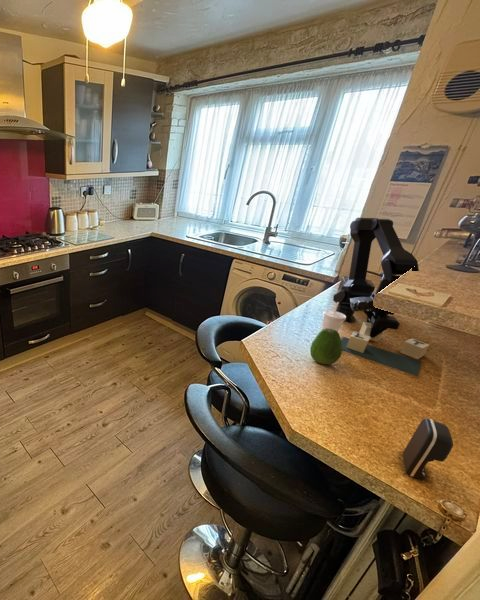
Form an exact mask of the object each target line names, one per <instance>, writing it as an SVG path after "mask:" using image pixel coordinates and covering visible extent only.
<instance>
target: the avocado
mask: <svg viewBox="0 0 480 600" xmlns="http://www.w3.org/2000/svg"><path fill="white" fill-rule="evenodd" d="M340 335H341V334H340V333H339V331H338V332H337V331H335V330H333V329H331V328H326V329H323V330H322V331H321V330H320V331H319V332H318V334H317V335H316V336H315V338H313V340H312V342H311V345H310V356H311V359H312V360H314V361H315V362H316V363H318V364H320V365H333V364H335V363H336V362H338V360H340V358H341V357H342V353H343V351H342V344H341V340H342V338H341V336H340Z"/></svg>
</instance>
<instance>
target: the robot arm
mask: <svg viewBox="0 0 480 600" xmlns="http://www.w3.org/2000/svg"><path fill="white" fill-rule="evenodd" d="M349 229H350V230H349V232H350V234H349V235H350V238H351V239H352V240H353V242H354V243H353V249H352V256H351V261H350V262H351V263H350V269H349V275H348V277H349V280H348V281H347V282H346V283H345V284H344V285H343V286H342V289H341V291H340V292H339V293H337V292H336V293H337V294H336V293H335V294H334V295H333V299H332V301H333V302H334V303H335V304H337V302H339V305H338V307H337V310H336V311H337V312H340V313H342V314H344V315H345V316H346V320H345V321H344V322H347V323H352V322H353V320H354V319H355V316H354V315H355V312H360V311H361V312H364V314H365V315H366V322H369V323H371V324H372V326H371V331H370V336H371V338H374V337H376V336H377V335H379V334H380V333H382V332H383V333H384V332H385V331H386V330H388V329H390V330H395V331H397V330H399V328H400V326H401V323H400V322H399V320H398V319H397V318H396V317H395V316H394V315H395V312H394V313H391V312H388V311H384V310H381V309H378V308H375V307H374V306H373V300H374V297H375V295H376V294H377V293H378V292H380V291H381V290H382V289H384V288H385V287H386V286H388V285H389V284H390V283H392V282H393V281H395V280H396V279H398V278H399V277H400V276H404V275H403V274H404V273H406V272H407V271H409V270H410V269H411V268H412V271H419V272H420V269H419V262H418V260H417V258H416V257H415V256H414V255H413V254H412V252H409V251H408V250H406V249H405V248H404V247H403V245H402V242H401V240H400V238H399V236H398V234H397V232H396V230H395V228H394V221H393V220H392V219H390V218H389V219H388V218H378V217H356V218H355V219H354V220H352V221H351V222H350V224H349ZM375 239H376V241H377V243H378V246H379V248H380V251H381V253H382V258H381V260H380V264H381V265H380V266H381V269H382V272H380V273H378V274H379V276H378V277H380V280H379V284H378V286H377V288H376V291H374V292H373V293H372V294H371V295H370V292H371V288H372V287H371V285H368V284H367V282H366V279H367V274H368V273H367V271H368V267H369V262H370V257H371V256H370V255H371V249H372V244H373V241H375ZM414 266H415V267H414ZM383 333H382V334H383Z"/></svg>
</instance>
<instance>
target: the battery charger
mask: <svg viewBox="0 0 480 600" xmlns="http://www.w3.org/2000/svg"><path fill="white" fill-rule="evenodd" d="M408 441H409V442H408V443H407V444H406V446H405V448H404V449H403V451H402V458H403V460H402V461H403V465H404V472H405V474H406V475H408V476H410V477H413V478H416V479H418V480H426V479H427V477H428V476H427V471H426V466H427V464H428V463H430V462H434V461H438V462H441V463H442V462H444V461H446V460H447V458H448V456H449V455H450V453H451V451H452V449H453V447H454V441H453V437H452V434H451V431H450V429H449V427H448V426H447V425H446V424H444V423H442V422H439V421H436V420H433V419H431V418H427V417H425V418H422V420H420V422H419V424H418V426H417V427H416V429H415V431H414V432H413V434H412V435H411V437H410V439H409V440H408Z"/></svg>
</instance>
